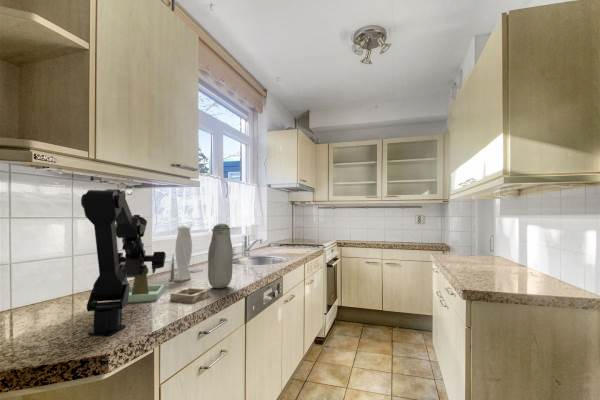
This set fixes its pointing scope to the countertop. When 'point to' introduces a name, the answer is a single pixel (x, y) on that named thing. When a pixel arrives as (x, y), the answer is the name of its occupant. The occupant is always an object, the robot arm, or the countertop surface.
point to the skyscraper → (182, 254)
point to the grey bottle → (220, 257)
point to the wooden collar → (189, 295)
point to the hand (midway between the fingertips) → (140, 273)
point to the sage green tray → (153, 295)
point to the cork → (140, 284)
